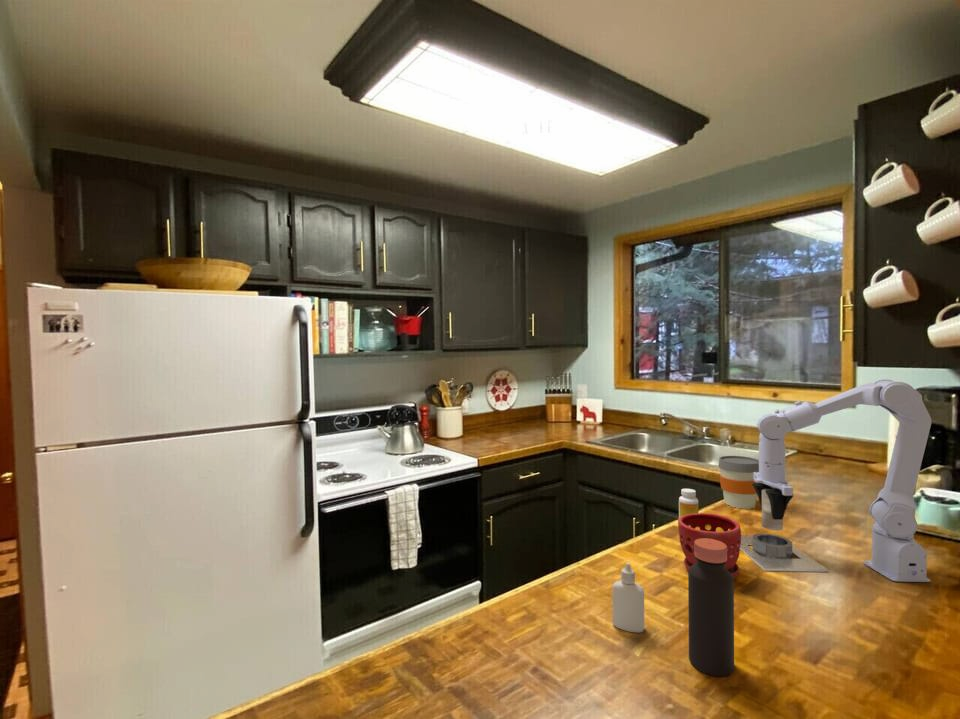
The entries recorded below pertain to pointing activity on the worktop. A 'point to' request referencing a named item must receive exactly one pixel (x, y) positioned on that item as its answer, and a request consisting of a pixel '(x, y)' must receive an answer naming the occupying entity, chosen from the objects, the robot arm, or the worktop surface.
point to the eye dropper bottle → (628, 602)
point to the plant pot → (710, 536)
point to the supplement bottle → (688, 502)
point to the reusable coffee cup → (738, 480)
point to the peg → (769, 514)
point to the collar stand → (777, 554)
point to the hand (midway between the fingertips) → (772, 515)
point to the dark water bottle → (711, 609)
